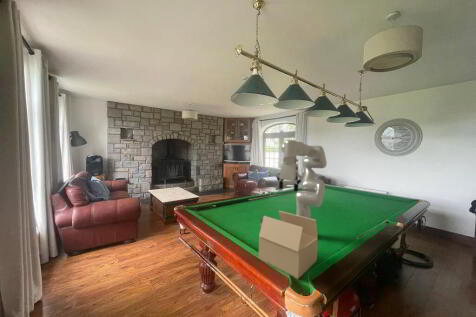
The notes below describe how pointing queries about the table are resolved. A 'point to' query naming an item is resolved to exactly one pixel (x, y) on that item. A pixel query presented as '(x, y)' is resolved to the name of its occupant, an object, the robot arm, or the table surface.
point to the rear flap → (300, 223)
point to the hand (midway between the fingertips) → (288, 189)
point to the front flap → (281, 233)
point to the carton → (289, 255)
